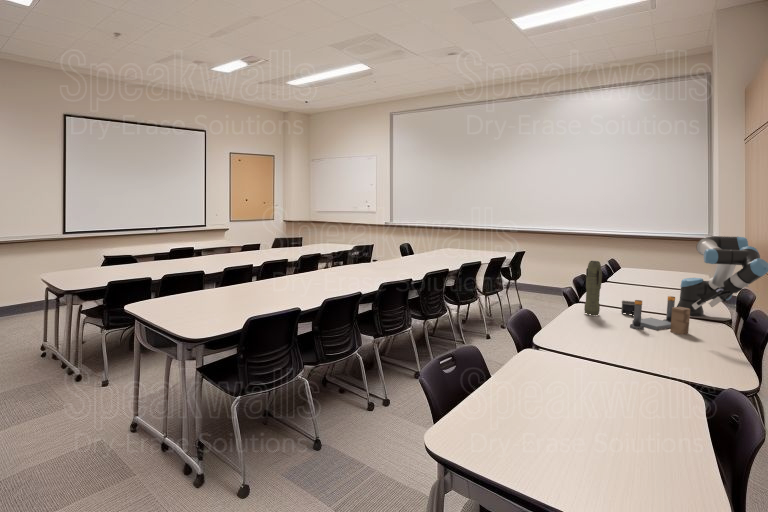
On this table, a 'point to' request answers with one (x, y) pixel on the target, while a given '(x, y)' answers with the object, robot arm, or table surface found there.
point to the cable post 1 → (637, 315)
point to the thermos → (593, 287)
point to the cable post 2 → (669, 308)
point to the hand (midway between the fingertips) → (702, 306)
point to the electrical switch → (628, 307)
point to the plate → (655, 323)
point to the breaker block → (680, 320)
